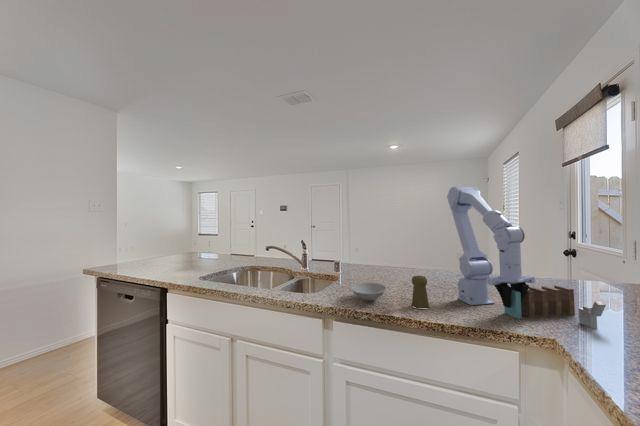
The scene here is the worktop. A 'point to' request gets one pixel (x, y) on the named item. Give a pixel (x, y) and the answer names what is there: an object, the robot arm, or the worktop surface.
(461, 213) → the robot arm
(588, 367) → the worktop surface
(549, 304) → the walnut domino
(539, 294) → the walnut domino
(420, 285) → the olive upright piece
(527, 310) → the walnut domino
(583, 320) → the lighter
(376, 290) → the dish
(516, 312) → the teal domino
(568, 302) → the walnut domino
